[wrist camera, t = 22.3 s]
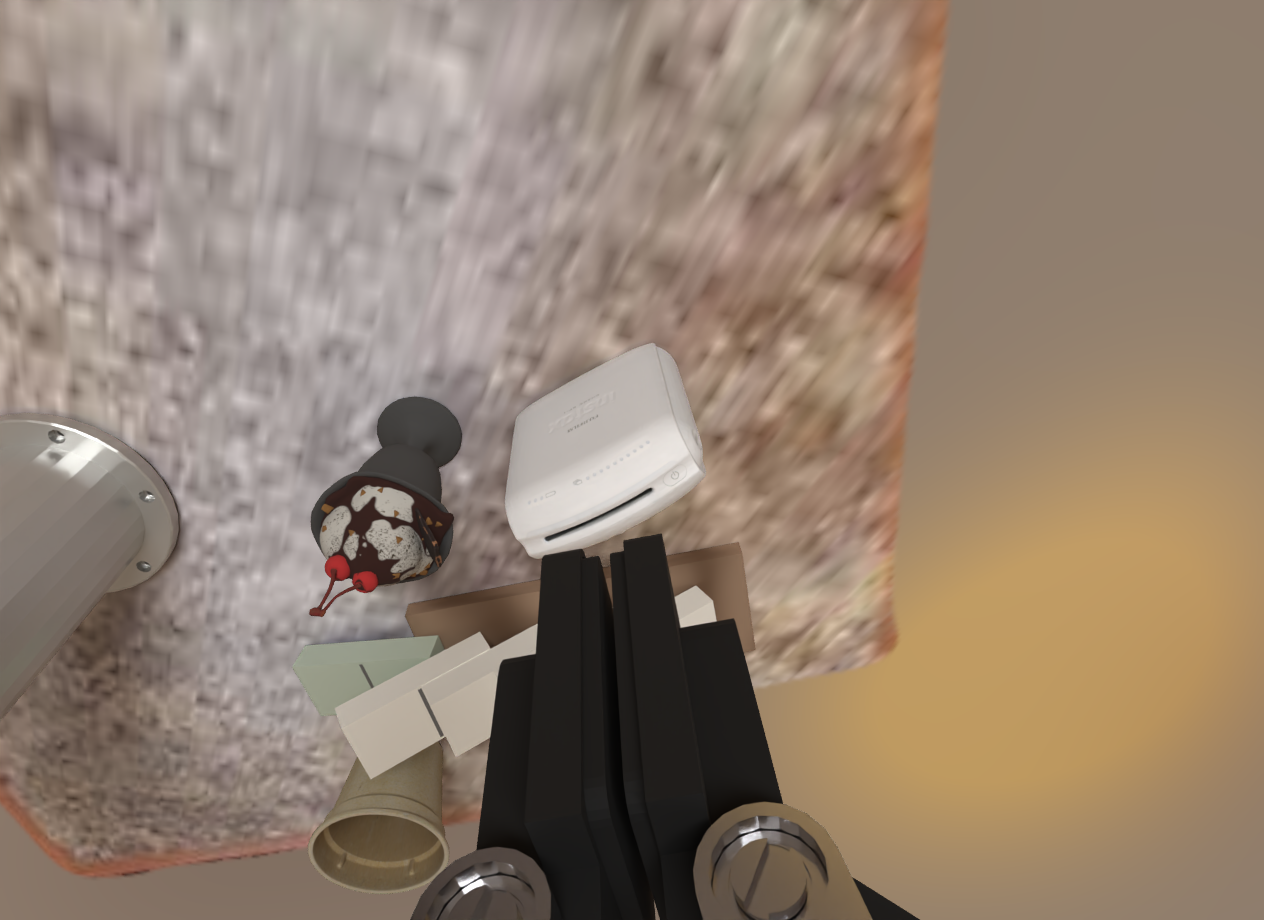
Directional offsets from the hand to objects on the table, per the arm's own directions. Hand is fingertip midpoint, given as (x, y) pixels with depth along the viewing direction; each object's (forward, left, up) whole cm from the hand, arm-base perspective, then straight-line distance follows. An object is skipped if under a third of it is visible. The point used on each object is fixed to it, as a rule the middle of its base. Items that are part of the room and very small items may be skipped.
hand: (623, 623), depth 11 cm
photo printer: (-2, -12, -32) cm, 35 cm away
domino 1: (-13, -29, -30) cm, 43 cm away
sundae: (-13, -12, -32) cm, 37 cm away
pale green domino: (-17, -29, -30) cm, 45 cm away
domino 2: (-7, -29, -30) cm, 42 cm away
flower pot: (-23, -39, -32) cm, 55 cm away
